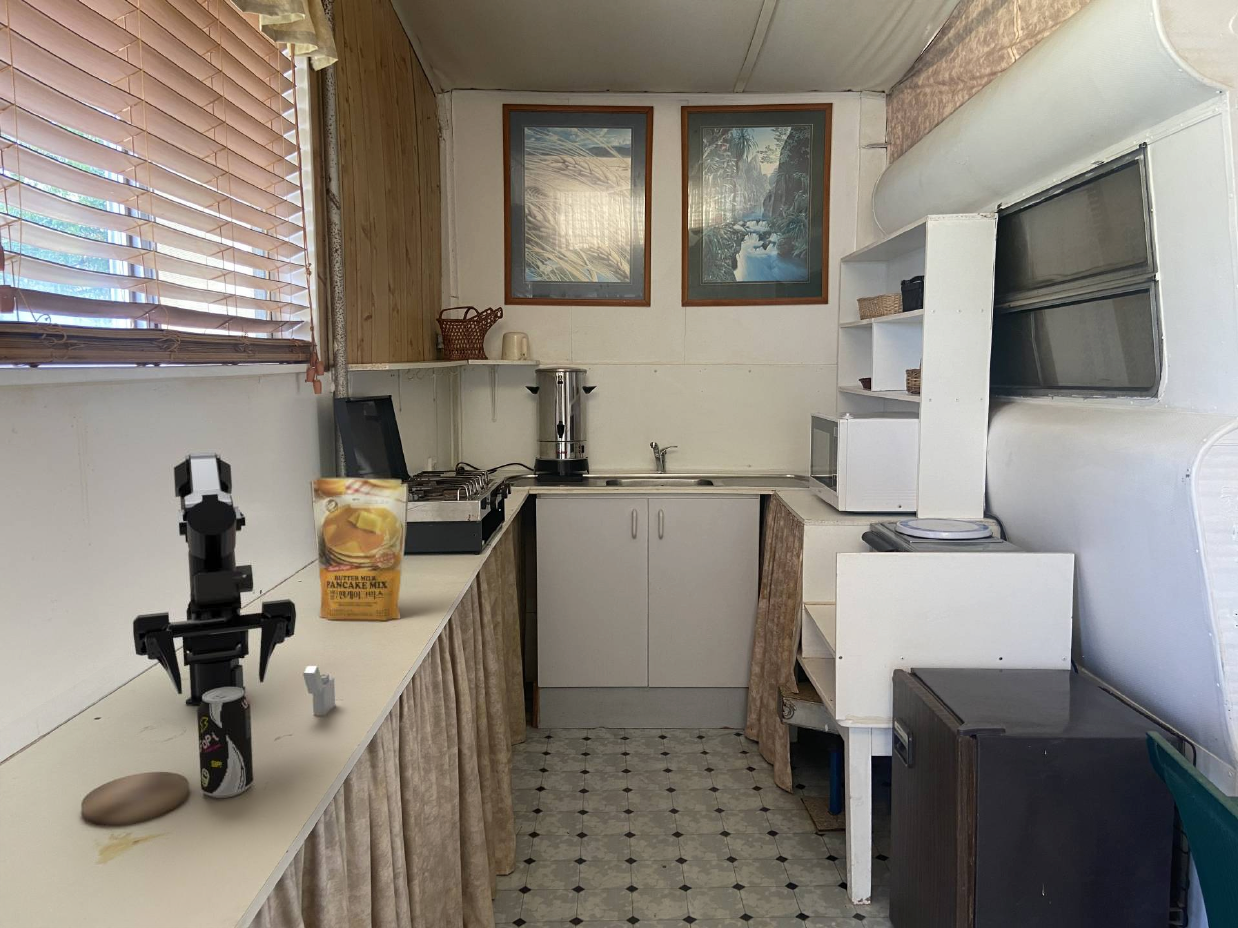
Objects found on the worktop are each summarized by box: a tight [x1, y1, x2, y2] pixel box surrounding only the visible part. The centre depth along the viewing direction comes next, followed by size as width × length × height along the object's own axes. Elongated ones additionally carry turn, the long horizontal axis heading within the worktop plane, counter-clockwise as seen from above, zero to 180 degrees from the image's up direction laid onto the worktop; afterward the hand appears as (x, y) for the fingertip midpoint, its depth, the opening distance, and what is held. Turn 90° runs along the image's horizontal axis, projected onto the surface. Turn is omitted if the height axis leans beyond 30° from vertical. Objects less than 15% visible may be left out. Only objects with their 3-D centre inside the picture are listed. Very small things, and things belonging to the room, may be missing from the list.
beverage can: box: [196, 687, 254, 799], centre depth 107 cm, size 6×6×12 cm
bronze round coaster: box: [81, 771, 190, 827], centre depth 105 cm, size 11×11×1 cm
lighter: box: [302, 665, 336, 717], centre depth 131 cm, size 7×2×8 cm, turn 176°
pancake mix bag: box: [309, 477, 410, 623], centre depth 179 cm, size 7×19×28 cm, turn 86°
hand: (221, 686), depth 111 cm, fingers open, 9 cm apart
